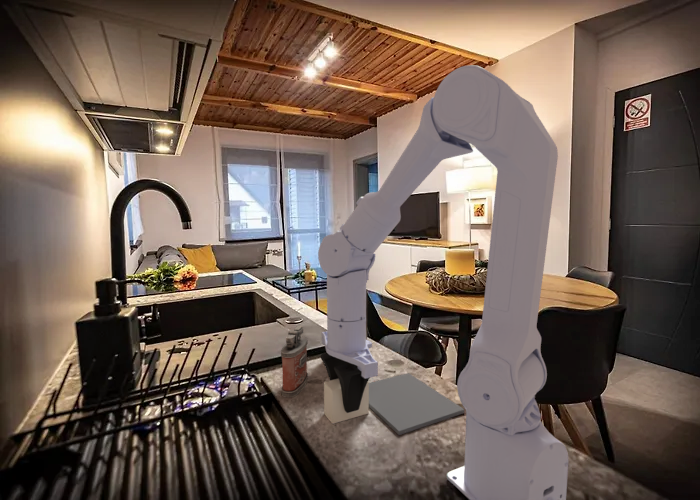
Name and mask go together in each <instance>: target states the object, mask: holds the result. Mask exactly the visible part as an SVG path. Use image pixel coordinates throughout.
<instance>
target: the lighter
mask: <svg viewBox="0 0 700 500" xmlns="http://www.w3.org/2000/svg"><path fill="white" fill-rule="evenodd" d="M303 334H304V327H303V325H298V326H296V328H294V330H288V333H287V336H286V337H285V343H284V345H283V346H282V348H281V349H280V356H281V362H282V363H281V364H282V365H281V366H282V368H281V369H282V386H281V395H282V396H283V397H284V398H293V397H296V396H297V395H298V394H299V393H301V392H302V390H303V389H304V388H305V387H306V384H307V383H308V380H309V373H308V371H307V370H308V363H307V362H308V361H307V360H308V357H307V356H308V355H307V354H308V353H307V351H308V350H307V349H308V348H307V347H308V346H307V345H308V343H309V341H308V338H307V337H305V336H302V335H303Z"/></svg>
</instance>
